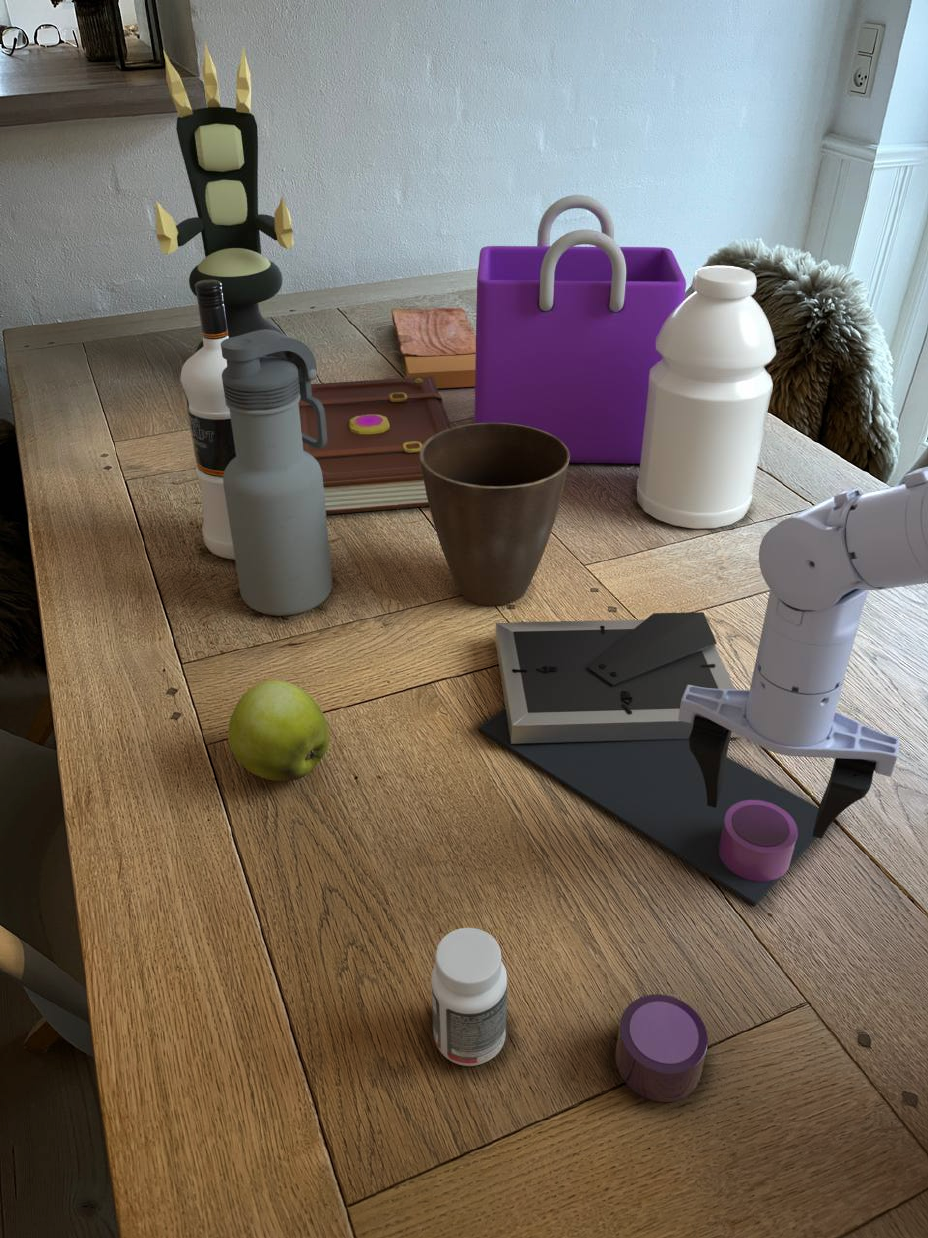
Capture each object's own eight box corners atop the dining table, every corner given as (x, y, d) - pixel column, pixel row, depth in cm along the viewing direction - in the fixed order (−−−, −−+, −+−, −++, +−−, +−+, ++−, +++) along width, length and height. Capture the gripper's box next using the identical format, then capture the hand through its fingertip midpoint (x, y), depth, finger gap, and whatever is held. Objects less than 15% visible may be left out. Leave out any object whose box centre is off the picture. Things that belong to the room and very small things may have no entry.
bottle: (671, 540, 117) (705, 299, 101) (614, 488, 127) (636, 262, 111) (773, 518, 121) (820, 283, 105) (709, 469, 131) (743, 249, 115)
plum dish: (803, 854, 77) (811, 824, 75) (766, 894, 74) (774, 864, 72) (741, 818, 80) (748, 788, 79) (704, 855, 77) (710, 825, 75)
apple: (280, 720, 91) (270, 649, 86) (352, 764, 86) (345, 692, 81) (212, 766, 86) (197, 694, 81) (284, 816, 81) (273, 742, 77)
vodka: (281, 562, 113) (247, 295, 96) (198, 564, 113) (149, 296, 95) (289, 521, 120) (260, 267, 103) (212, 523, 120) (169, 268, 103)
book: (434, 403, 149) (433, 371, 146) (470, 504, 124) (470, 467, 121) (280, 413, 146) (276, 381, 143) (284, 519, 121) (280, 482, 118)
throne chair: (183, 396, 152) (124, 57, 126) (186, 346, 169) (135, 39, 144) (308, 386, 155) (276, 53, 129) (298, 338, 173) (268, 36, 147)
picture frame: (699, 635, 101) (494, 639, 100) (703, 612, 100) (495, 616, 99) (745, 737, 88) (510, 744, 87) (750, 712, 87) (512, 718, 85)
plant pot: (406, 564, 112) (400, 433, 103) (528, 541, 117) (533, 412, 107) (450, 639, 101) (448, 498, 92) (584, 610, 105) (595, 472, 96)
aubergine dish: (717, 1060, 64) (725, 1030, 62) (669, 1120, 61) (675, 1091, 59) (648, 1008, 67) (653, 978, 65) (598, 1062, 64) (602, 1032, 62)
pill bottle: (520, 1032, 65) (524, 952, 61) (471, 1083, 63) (471, 1003, 58) (467, 989, 68) (467, 909, 63) (418, 1036, 65) (414, 955, 60)
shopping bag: (482, 481, 129) (484, 239, 112) (456, 413, 147) (454, 195, 129) (691, 465, 133) (724, 228, 115) (641, 400, 150) (664, 186, 133)
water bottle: (299, 558, 114) (271, 312, 98) (354, 591, 108) (334, 337, 92) (223, 593, 108) (180, 338, 92) (276, 630, 102) (241, 365, 86)
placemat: (833, 819, 81) (834, 816, 81) (755, 906, 74) (756, 903, 73) (564, 670, 97) (564, 667, 96) (478, 730, 90) (478, 727, 89)
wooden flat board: (406, 391, 153) (405, 371, 151) (391, 326, 177) (390, 307, 175) (490, 387, 154) (491, 366, 153) (464, 322, 179) (464, 304, 177)
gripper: (920, 661, 67) (873, 805, 75) (705, 612, 72) (682, 752, 80) (912, 724, 62) (863, 872, 70) (681, 666, 67) (659, 811, 75)
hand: (765, 813), depth 75 cm, fingers open, 7 cm apart
